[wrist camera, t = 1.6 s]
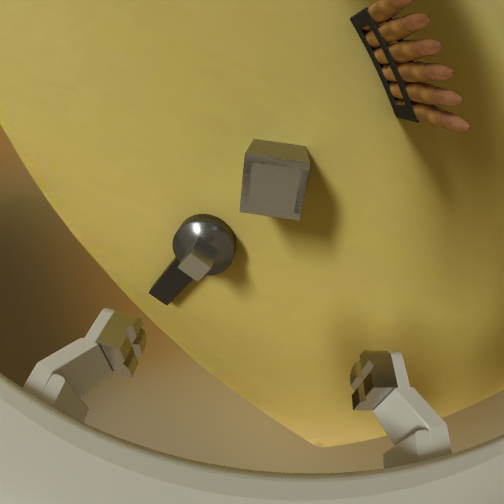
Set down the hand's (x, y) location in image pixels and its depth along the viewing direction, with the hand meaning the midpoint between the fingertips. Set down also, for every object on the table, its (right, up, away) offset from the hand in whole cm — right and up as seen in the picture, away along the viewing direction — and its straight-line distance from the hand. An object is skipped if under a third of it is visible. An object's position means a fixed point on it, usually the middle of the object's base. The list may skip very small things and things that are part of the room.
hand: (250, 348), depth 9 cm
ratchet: (-8, +2, +25) cm, 26 cm away
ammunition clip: (+12, +21, +10) cm, 26 cm away
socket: (+2, +12, +17) cm, 21 cm away
